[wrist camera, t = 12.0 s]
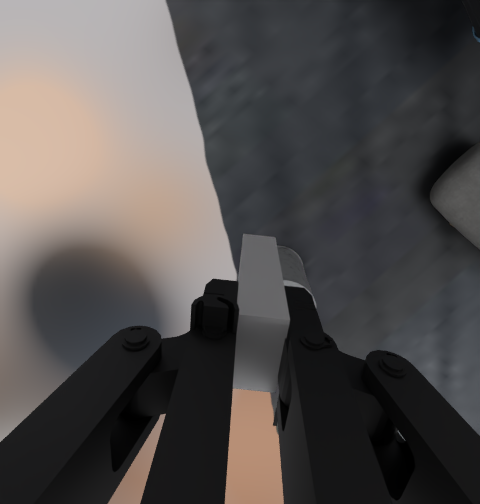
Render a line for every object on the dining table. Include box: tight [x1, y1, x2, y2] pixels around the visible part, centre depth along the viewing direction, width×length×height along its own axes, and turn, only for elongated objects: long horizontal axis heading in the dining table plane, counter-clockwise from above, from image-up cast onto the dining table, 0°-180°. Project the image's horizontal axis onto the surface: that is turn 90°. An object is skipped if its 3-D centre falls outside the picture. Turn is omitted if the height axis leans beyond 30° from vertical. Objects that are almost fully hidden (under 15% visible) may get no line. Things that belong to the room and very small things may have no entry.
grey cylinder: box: [277, 245, 316, 307], centre depth 50 cm, size 10×10×12 cm
